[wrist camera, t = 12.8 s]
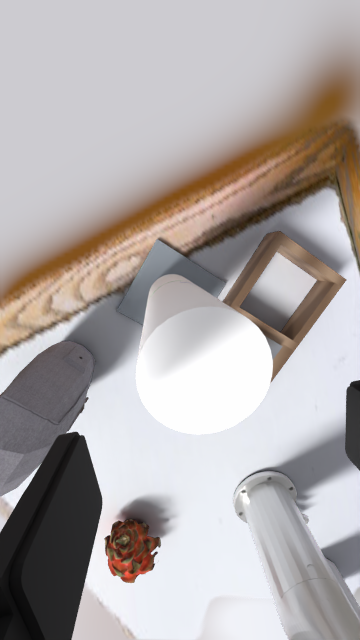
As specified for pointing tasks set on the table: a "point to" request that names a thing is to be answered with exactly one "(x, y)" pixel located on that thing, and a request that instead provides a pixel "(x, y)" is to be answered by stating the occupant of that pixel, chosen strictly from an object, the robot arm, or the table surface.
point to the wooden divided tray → (307, 310)
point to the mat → (161, 264)
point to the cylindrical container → (199, 359)
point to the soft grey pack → (41, 408)
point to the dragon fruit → (130, 550)
